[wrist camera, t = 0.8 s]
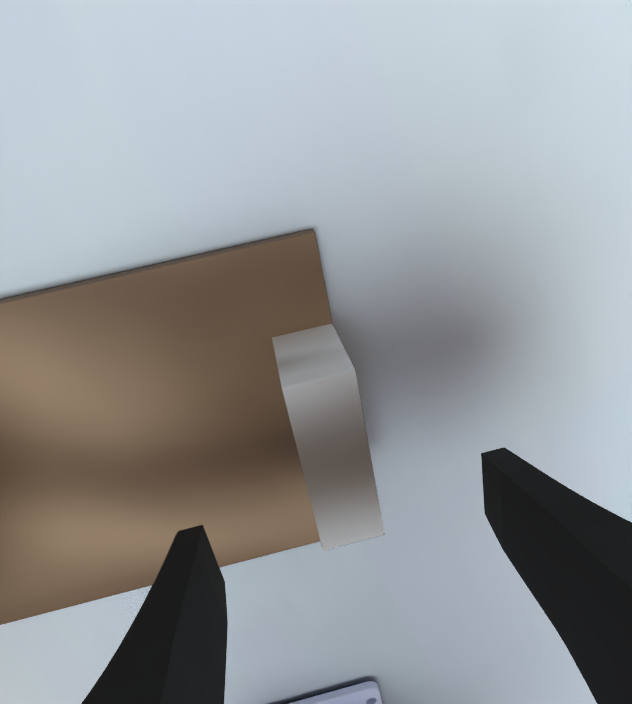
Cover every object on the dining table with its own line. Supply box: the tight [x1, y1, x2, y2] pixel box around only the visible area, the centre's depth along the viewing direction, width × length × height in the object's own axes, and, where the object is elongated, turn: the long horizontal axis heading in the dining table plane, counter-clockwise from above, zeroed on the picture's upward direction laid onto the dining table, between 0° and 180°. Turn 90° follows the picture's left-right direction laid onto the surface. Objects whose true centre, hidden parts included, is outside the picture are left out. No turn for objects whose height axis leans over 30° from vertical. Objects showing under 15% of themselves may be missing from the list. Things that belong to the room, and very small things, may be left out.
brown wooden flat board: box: [0, 229, 384, 625], centre depth 16 cm, size 12×22×4 cm, turn 101°
